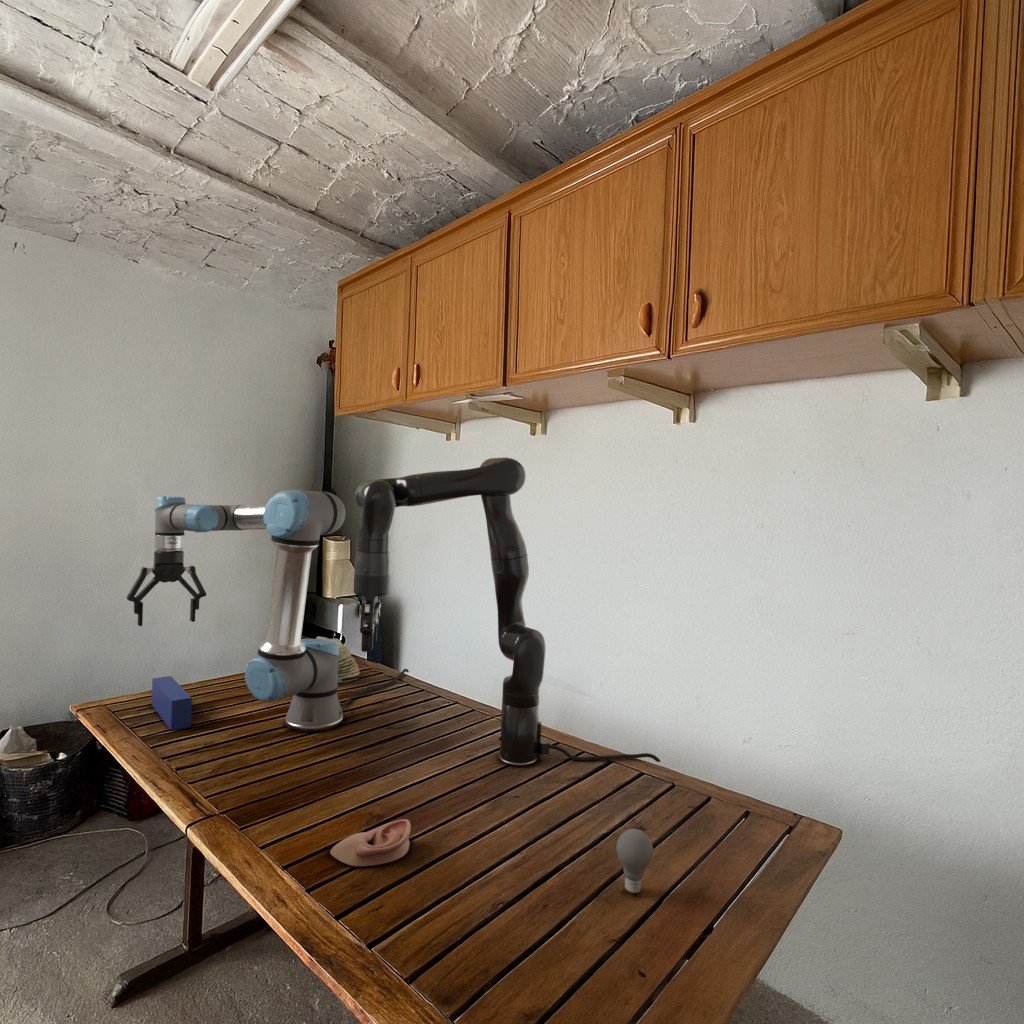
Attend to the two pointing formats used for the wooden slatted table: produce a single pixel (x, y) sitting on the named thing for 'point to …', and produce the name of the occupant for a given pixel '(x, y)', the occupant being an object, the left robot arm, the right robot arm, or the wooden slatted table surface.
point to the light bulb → (634, 857)
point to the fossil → (345, 663)
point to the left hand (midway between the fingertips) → (166, 623)
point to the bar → (171, 702)
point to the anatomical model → (374, 845)
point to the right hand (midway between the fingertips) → (369, 646)
